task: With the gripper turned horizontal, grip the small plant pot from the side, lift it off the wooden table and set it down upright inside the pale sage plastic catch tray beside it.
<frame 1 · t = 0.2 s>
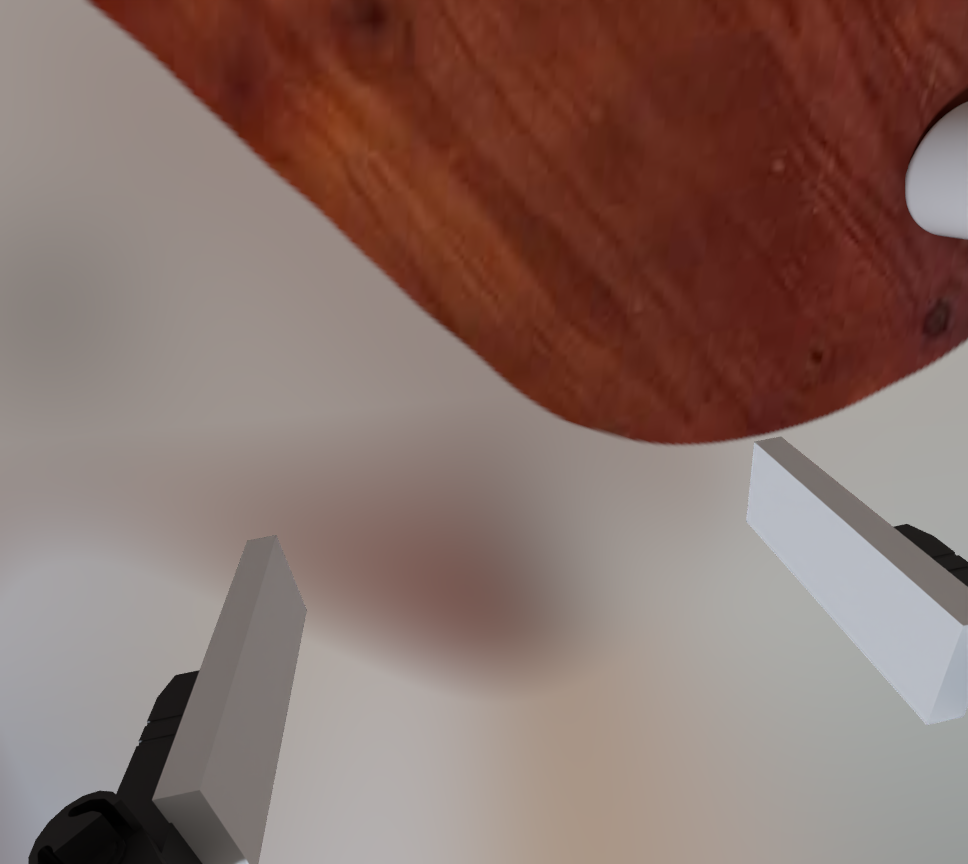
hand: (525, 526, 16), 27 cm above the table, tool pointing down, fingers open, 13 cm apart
mug: (965, 177, 41), on the table
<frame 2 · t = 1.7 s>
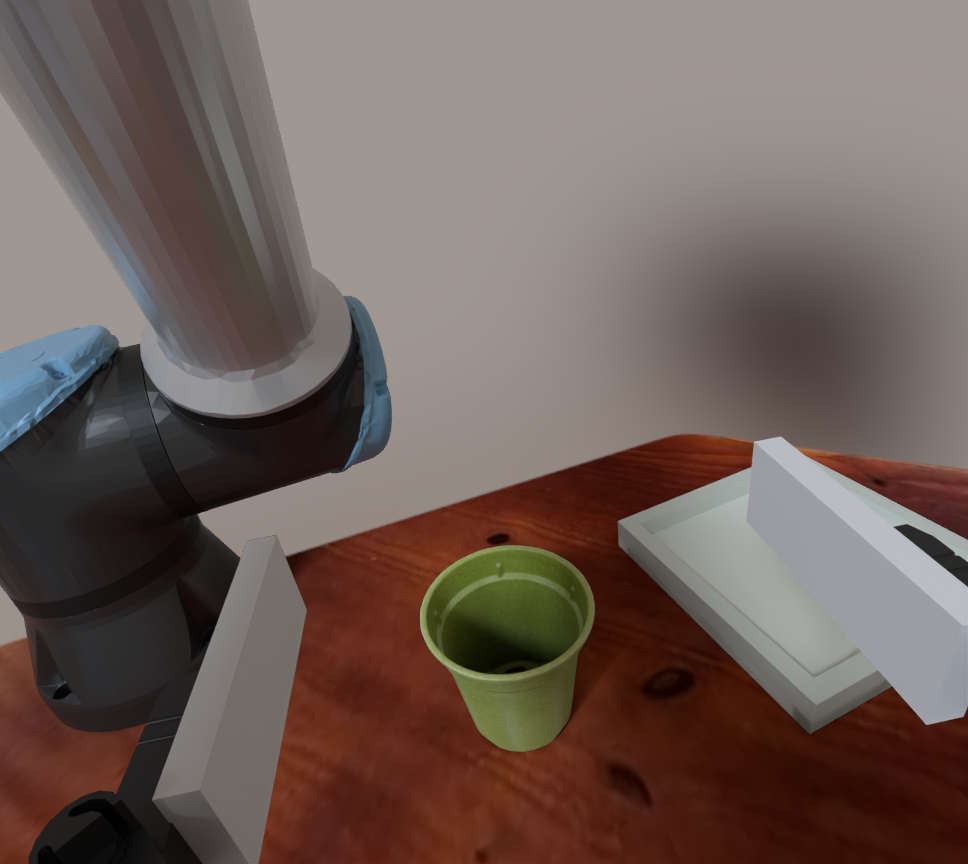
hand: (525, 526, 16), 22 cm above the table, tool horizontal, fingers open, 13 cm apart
catch tray: (797, 572, 41), on the table
plant pot: (523, 707, 35), on the table
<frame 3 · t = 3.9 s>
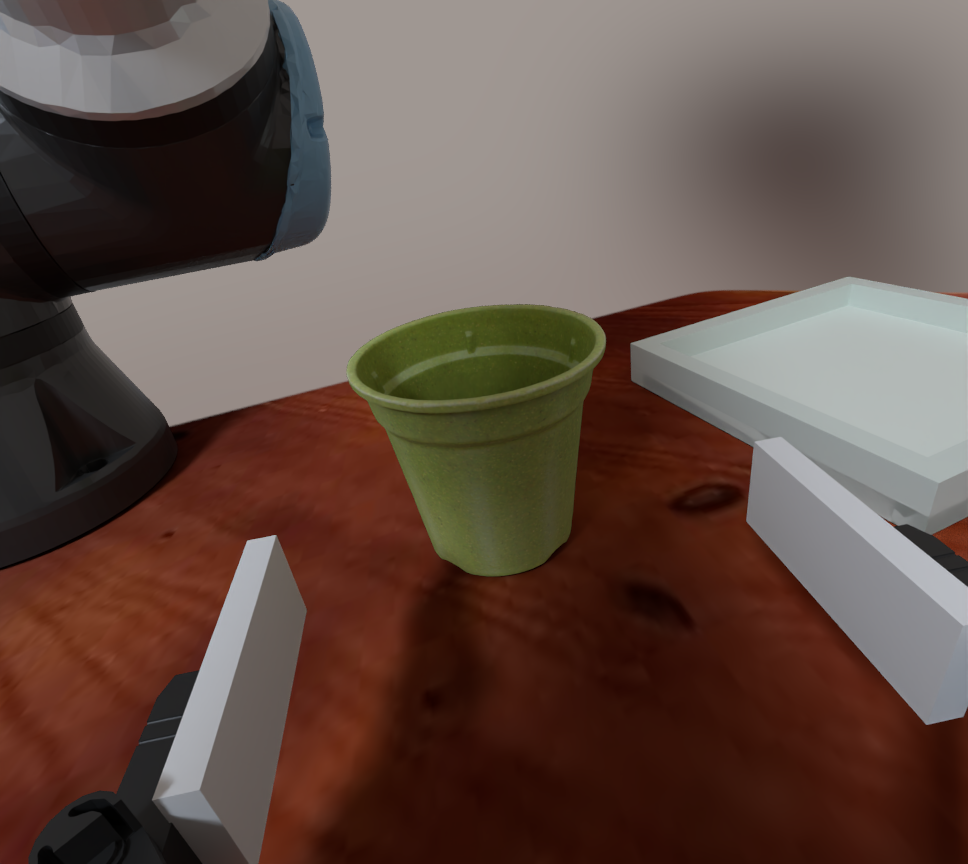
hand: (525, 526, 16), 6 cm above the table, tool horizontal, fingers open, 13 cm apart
catch tray: (870, 388, 31), on the table
plant pot: (503, 533, 25), on the table
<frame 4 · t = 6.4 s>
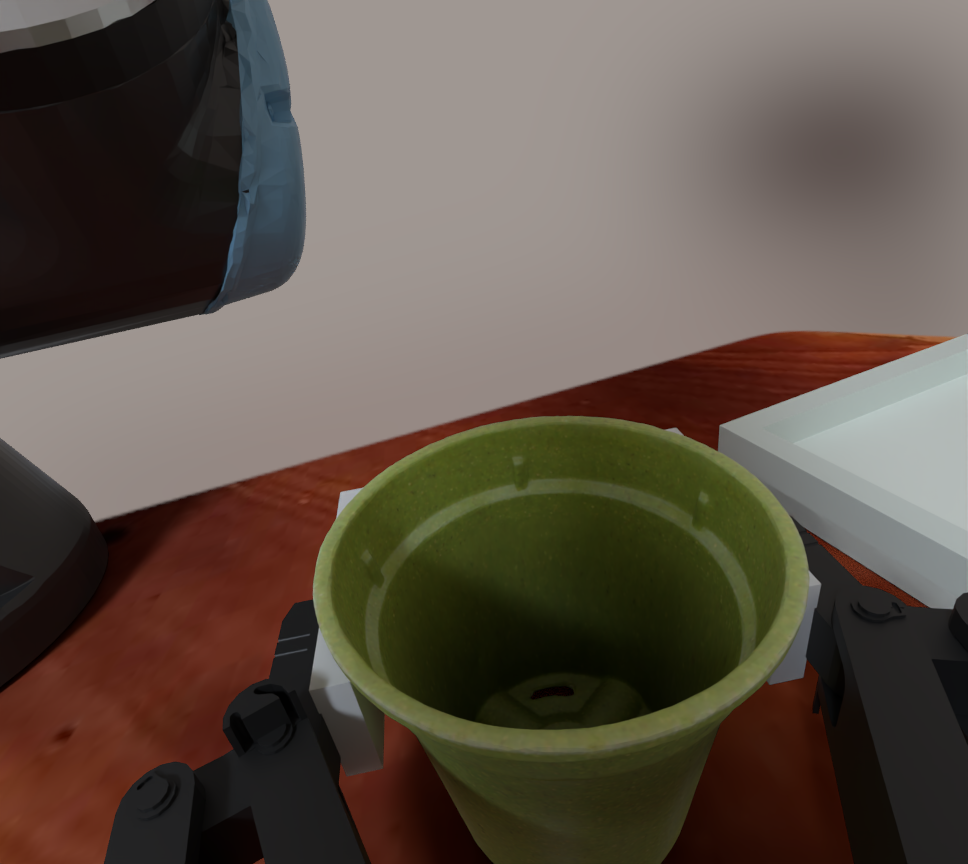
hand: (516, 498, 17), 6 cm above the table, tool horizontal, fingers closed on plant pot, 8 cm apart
plant pot: (572, 776, 16), on the table, touching gripper
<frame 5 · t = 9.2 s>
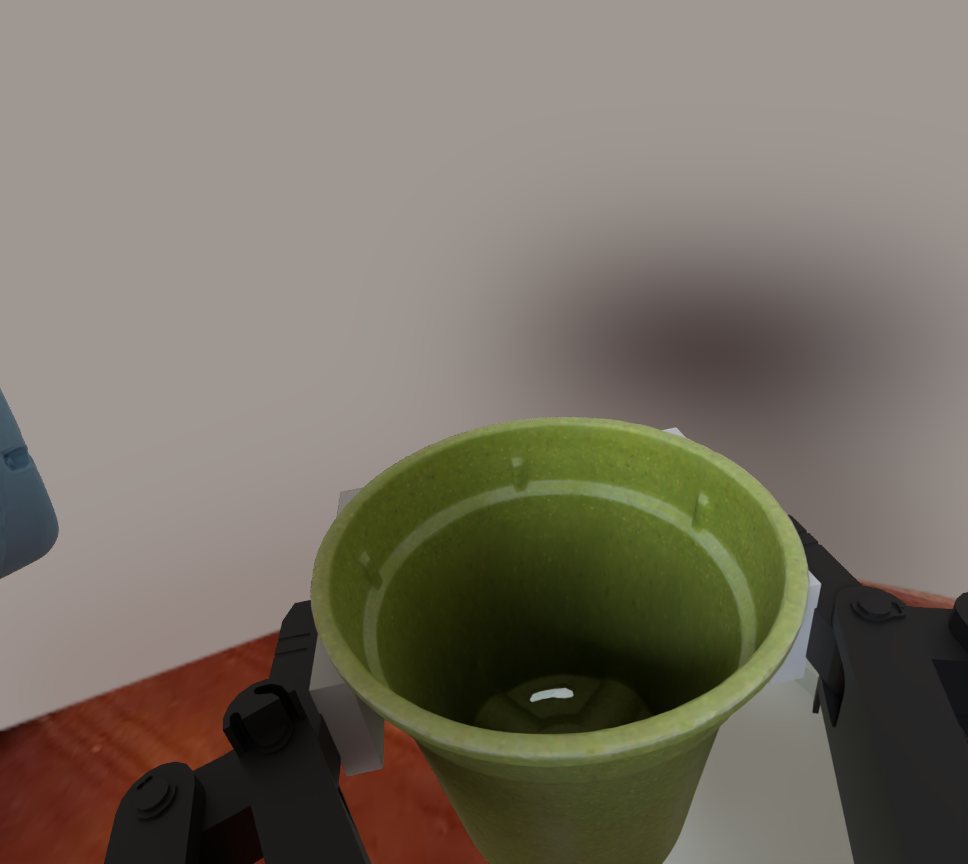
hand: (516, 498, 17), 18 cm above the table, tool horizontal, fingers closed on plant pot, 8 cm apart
catch tray: (706, 810, 26), on the table
plant pot: (571, 778, 16), point 12 cm above the table, touching gripper
when the fingers open (8 cm above the table, at t = 12.1 s): plant pot moves 1 cm, resting on catch tray.
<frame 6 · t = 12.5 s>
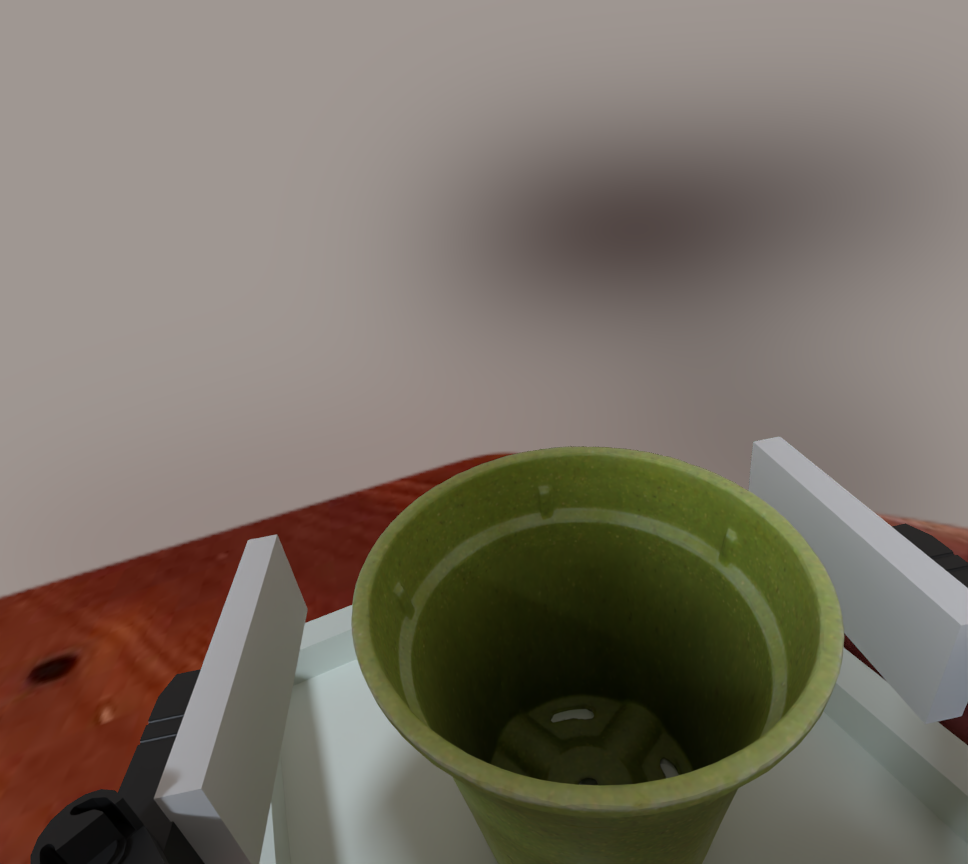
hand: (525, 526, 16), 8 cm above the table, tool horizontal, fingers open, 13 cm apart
catch tray: (576, 810, 17), on the table
plant pot: (593, 800, 16), point 1 cm above the table, touching catch tray
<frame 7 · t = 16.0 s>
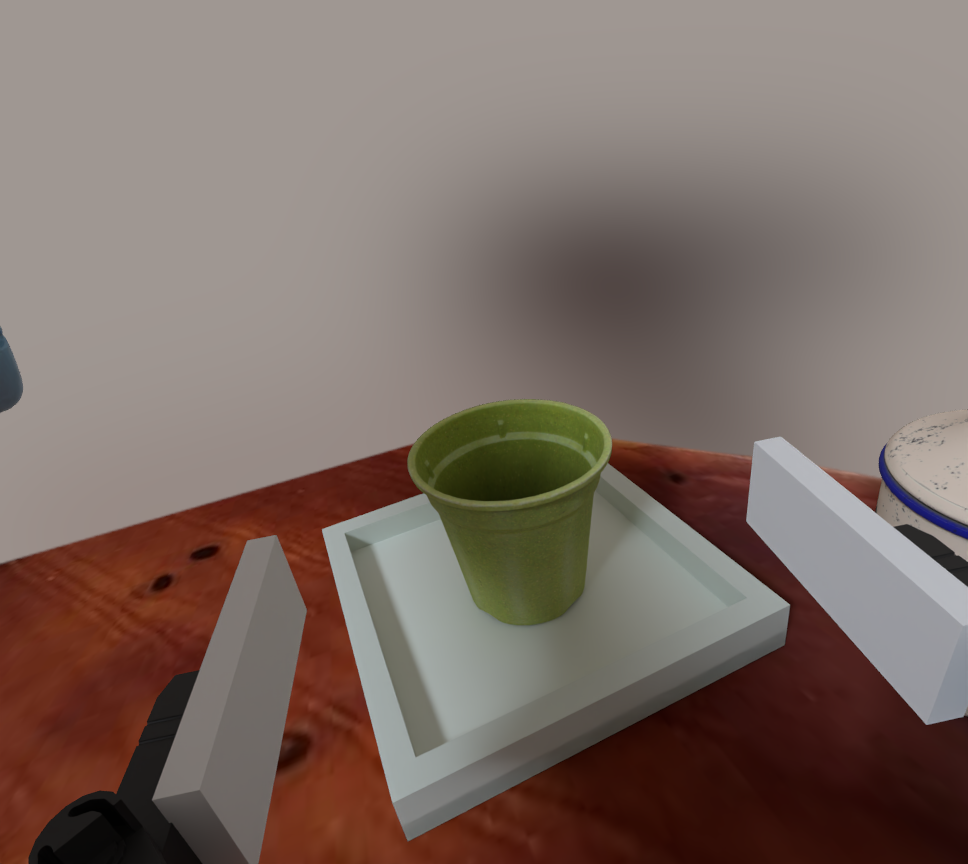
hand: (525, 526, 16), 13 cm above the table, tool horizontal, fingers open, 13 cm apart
catch tray: (521, 595, 31), on the table
plant pot: (529, 586, 31), point 1 cm above the table, touching catch tray
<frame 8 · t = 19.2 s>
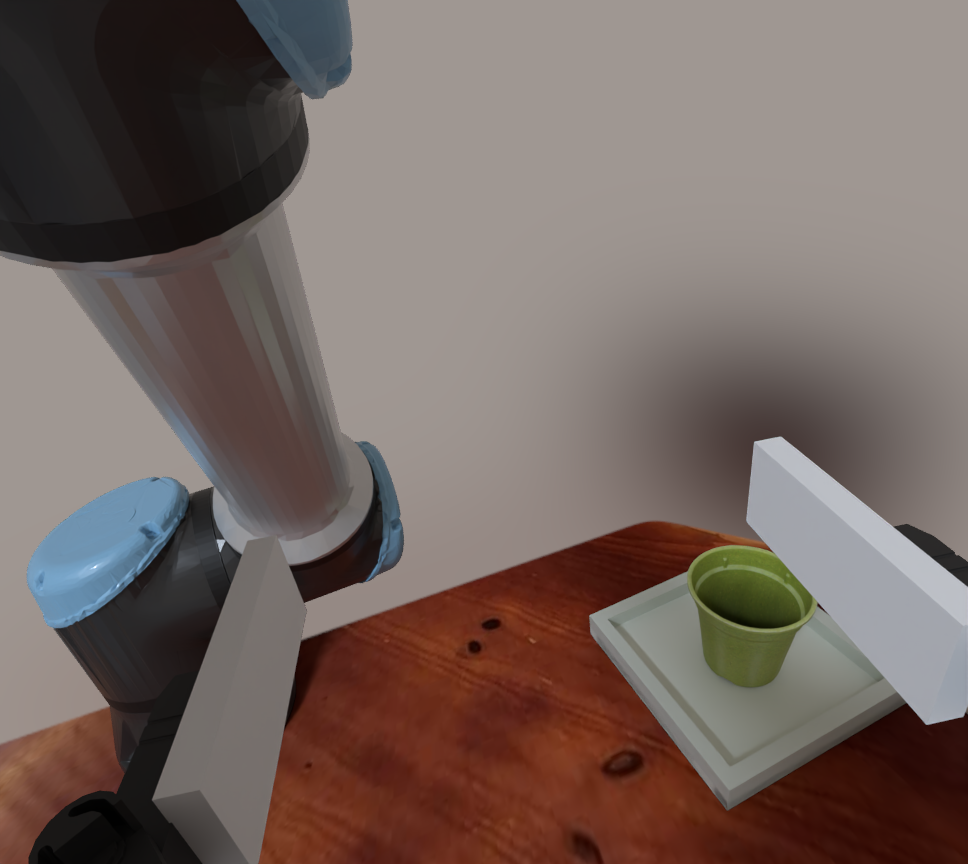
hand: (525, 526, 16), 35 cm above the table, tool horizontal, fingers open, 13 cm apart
catch tray: (733, 664, 50), on the table
plant pot: (741, 659, 50), point 1 cm above the table, touching catch tray
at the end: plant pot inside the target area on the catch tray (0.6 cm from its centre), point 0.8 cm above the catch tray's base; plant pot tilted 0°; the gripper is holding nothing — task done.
